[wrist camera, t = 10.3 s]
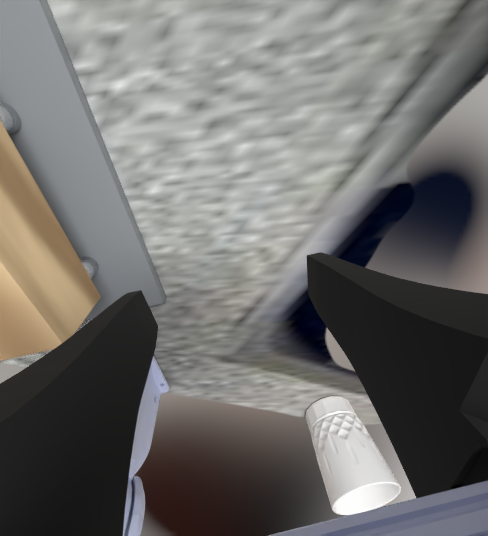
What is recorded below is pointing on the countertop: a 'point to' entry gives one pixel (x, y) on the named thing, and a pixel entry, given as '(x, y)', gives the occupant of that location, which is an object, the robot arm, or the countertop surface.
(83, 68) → the countertop surface
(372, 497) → the white cup
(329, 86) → the countertop surface
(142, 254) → the flat gray rectangular plate
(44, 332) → the board
